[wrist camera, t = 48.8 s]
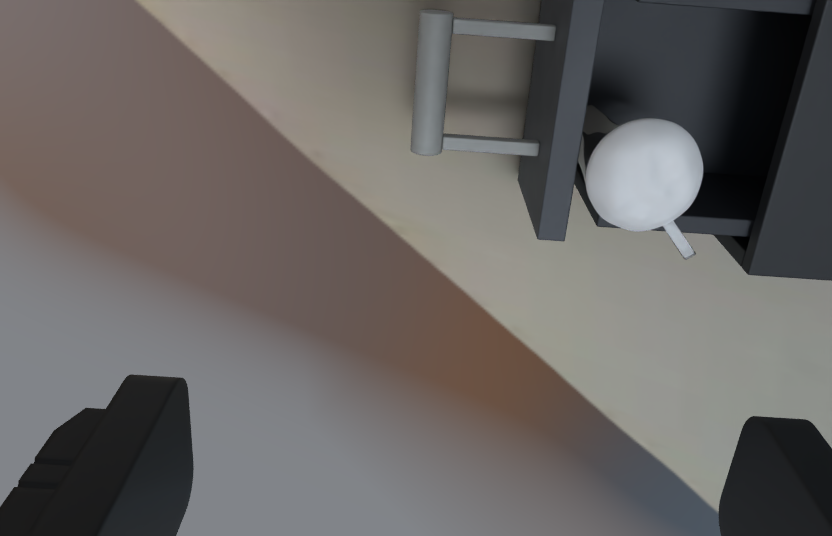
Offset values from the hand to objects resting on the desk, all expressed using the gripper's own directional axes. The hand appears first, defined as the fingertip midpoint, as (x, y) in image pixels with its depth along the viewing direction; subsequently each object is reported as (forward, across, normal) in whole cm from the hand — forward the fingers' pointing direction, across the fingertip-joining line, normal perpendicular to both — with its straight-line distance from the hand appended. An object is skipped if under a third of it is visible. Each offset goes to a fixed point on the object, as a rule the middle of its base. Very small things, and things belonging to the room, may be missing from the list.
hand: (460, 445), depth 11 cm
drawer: (+29, -9, 0) cm, 30 cm away
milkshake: (+28, -9, +3) cm, 30 cm away
